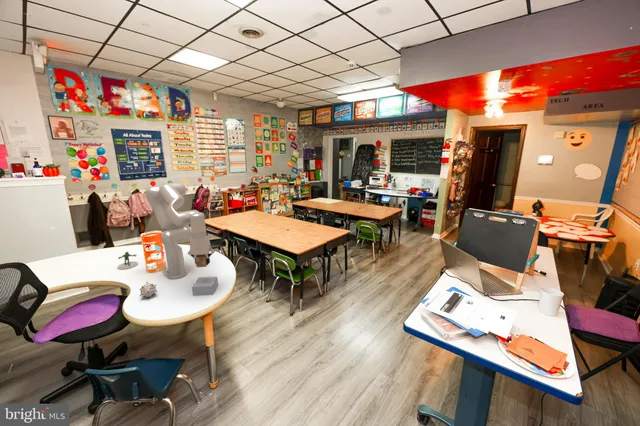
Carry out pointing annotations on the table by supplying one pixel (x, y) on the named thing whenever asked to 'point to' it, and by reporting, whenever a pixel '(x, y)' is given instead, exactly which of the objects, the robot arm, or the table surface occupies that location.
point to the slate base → (205, 286)
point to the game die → (148, 290)
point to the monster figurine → (127, 264)
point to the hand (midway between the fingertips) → (202, 263)
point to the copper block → (201, 261)
